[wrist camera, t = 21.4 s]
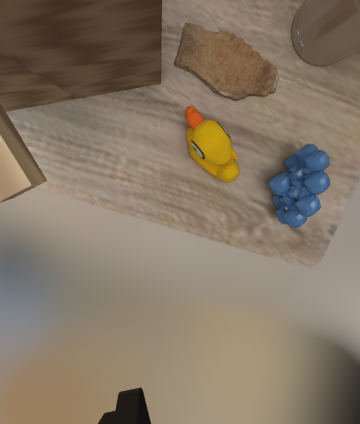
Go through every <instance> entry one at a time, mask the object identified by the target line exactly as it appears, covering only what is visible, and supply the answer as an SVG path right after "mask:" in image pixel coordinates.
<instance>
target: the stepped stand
mask: <svg viewBox="0 0 360 424" xmlns="http://www.w3.org/2000/svg"><path fill="white" fill-rule="evenodd" d="M161 30H162V0H0V104H1V105H2V107H3V109H4V110H5V111H10V110H16V109H22V108H27V107H33V106H38V105H44V104H49V103H55V102H60V101H66V100H71V99H77V98H83V97H88V96H94V95H99V94H105V93H110V92H116V91H121V90H127V89H133V88H138V87H144V86H149V85H155V84H160V83H161Z"/></svg>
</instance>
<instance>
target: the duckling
mask: <svg viewBox="0 0 360 424" xmlns="http://www.w3.org/2000/svg"><path fill="white" fill-rule="evenodd" d="M185 117H186V120H187V122H188V124H189V126H190V128H189V130H188V132H187V142H188V145H189V147H190V150H189V153H190V155H191V156H192V158H193V159H194V160H195V161H196V162H197V163H198V164H199V165H200V166H202V167H203V168H204V169H205V170H206V171H207V172H209V173H210V174H212V175H214V176H215V177H216V178H218V179H219V180H222V181H224V182H231V181H233V180H235V179H236V178H237V177H238V176H239V173H240V169H239V166H238V165H237V163H236V162H235V160H237V159H238V157H237V155H236V153H235V152H234V150H233V149H232V147H231V139H230V136H229V134H228V132H227V131H226V129H225V128H224V127H223V126H222V125H221V124H220V123H218V122H216V121H213V120H205V121H204V120H203V117H202V116H201V115H200V113H199V112H198V111H197V110H196V109H195V108H194V107H192V106H190V107H188V108H187V109H186V110H185Z"/></svg>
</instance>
